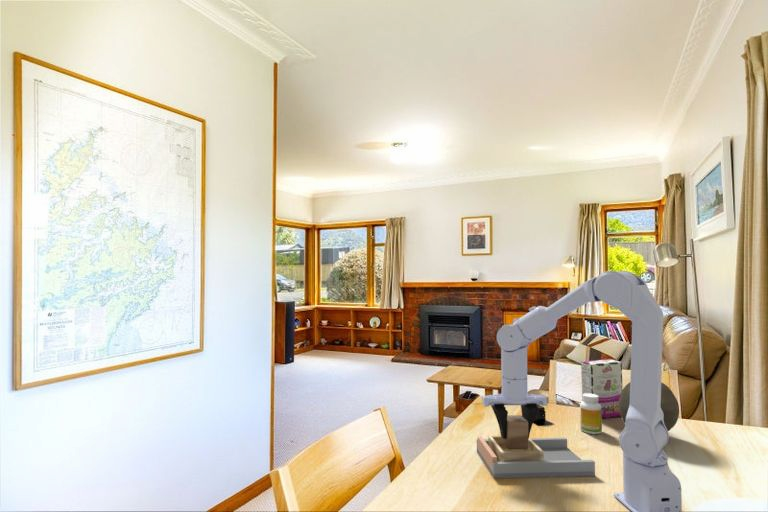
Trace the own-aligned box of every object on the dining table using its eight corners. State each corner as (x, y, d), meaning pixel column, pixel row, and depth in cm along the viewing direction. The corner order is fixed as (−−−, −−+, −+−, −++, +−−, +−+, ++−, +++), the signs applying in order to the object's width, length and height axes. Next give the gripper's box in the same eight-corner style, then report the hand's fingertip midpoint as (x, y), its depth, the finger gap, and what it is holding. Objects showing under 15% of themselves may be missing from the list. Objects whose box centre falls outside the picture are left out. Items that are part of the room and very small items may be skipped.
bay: (595, 475, 94) (594, 456, 94) (493, 478, 93) (493, 459, 93) (565, 449, 108) (565, 433, 108) (476, 451, 106) (476, 435, 106)
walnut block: (528, 449, 98) (528, 421, 98) (508, 449, 98) (508, 422, 98) (521, 441, 102) (520, 415, 102) (502, 441, 102) (501, 415, 102)
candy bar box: (611, 411, 137) (610, 358, 137) (624, 416, 132) (623, 361, 133) (581, 414, 134) (580, 360, 134) (592, 420, 129) (592, 364, 130)
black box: (561, 427, 124) (560, 411, 124) (538, 430, 122) (538, 413, 122) (534, 414, 136) (534, 399, 136) (513, 416, 134) (513, 401, 134)
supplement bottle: (604, 435, 117) (603, 398, 118) (582, 433, 118) (582, 397, 119) (598, 428, 122) (598, 393, 123) (578, 426, 124) (577, 391, 124)
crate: (543, 467, 96) (543, 451, 96) (501, 468, 95) (501, 452, 95) (527, 449, 105) (527, 435, 105) (488, 450, 104) (488, 436, 105)
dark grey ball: (608, 435, 117) (607, 378, 118) (632, 423, 126) (631, 371, 126) (667, 452, 106) (666, 389, 107) (689, 438, 115) (688, 380, 115)
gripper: (538, 372, 105) (538, 430, 105) (478, 373, 104) (478, 431, 104) (551, 380, 98) (551, 441, 97) (486, 380, 97) (487, 443, 97)
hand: (514, 437), depth 100 cm, fingers closed on walnut block, 4 cm apart
